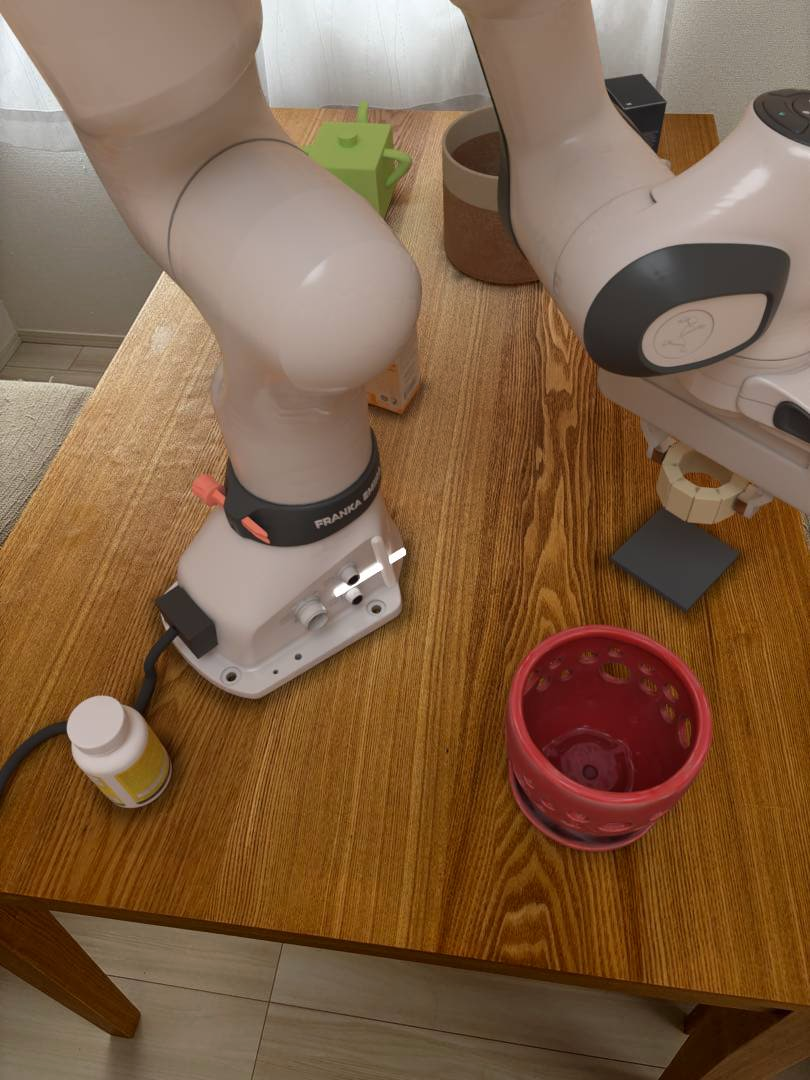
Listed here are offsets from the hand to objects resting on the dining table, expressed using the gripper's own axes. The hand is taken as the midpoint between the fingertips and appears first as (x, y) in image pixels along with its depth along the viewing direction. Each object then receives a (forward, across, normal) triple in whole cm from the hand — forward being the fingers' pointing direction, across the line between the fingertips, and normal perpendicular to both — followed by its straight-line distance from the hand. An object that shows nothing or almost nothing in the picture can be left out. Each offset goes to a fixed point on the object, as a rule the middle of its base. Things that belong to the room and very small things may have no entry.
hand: (701, 483), depth 68 cm
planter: (+11, -41, +24) cm, 49 cm away
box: (+11, -41, +46) cm, 63 cm away
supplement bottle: (+10, -18, -45) cm, 50 cm away
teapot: (+11, -61, +17) cm, 65 cm away
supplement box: (+10, -35, -3) cm, 37 cm away
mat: (+10, 0, 0) cm, 10 cm away
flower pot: (+10, +7, -21) cm, 25 cm away
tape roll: (+1, 0, 0) cm, 1 cm away
